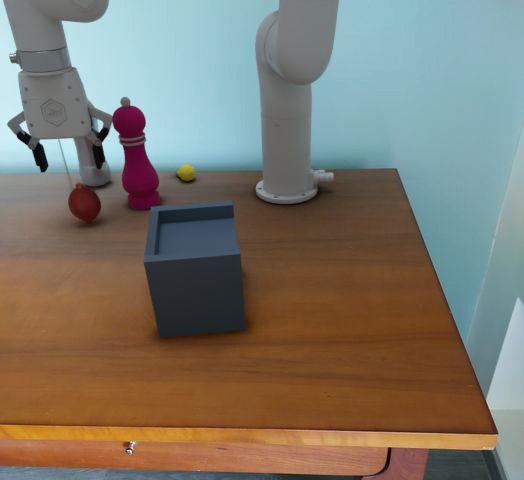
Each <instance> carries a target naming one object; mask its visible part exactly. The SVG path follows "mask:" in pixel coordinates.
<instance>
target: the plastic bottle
mask: <svg viewBox="0 0 524 480" xmlns="http://www.w3.org/2000/svg"><path fill="white" fill-rule="evenodd" d="M82 84H83V87H84V88H85V86H84V83H83V82H82ZM85 93H86V91H85ZM86 94H87V93H86ZM88 103H89V105H90V106H92V107H94V108H96V107H95V105H94V104H93V103H92V101H90V99H88ZM92 118H93V128H95V129H96V130H97V131H98V132H100V129H99V120H98V119H96V118H94V117H92ZM72 140H73V142H74V146H75V150H76V157H77V161H78V173H79V176H80V178H81V180H82V181H81V182H83V183H84V184H85V186H87V187H100V186H104V185H107V184H108V183H109V182H110V180H111V168H110V165H109V163H108V161H107V159H106V157H105V163H103V165H102V168H101V169H97V168H96V164H95V159H94V155H93V150H92V146H93V143H92V142H91V141H90V140H89V139H88V138H87V137H86V136H85V137H81V138H72Z"/></svg>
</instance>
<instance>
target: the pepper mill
mask: <svg viewBox="0 0 524 480" xmlns="http://www.w3.org/2000/svg"><path fill="white" fill-rule="evenodd" d="M119 104H120V105H121V106H118V108H116V109H115V110H114V111H113V113H112V116H113V121H112V126H113V129H114V130H115V131H116V132H117V133H118V135H117V138H118V143H119V145H121V146H122V149H123V154H124V164H123V169H122V172H121V186H122V189H123V190H124V191H125V192H126V193H127V194H128V195H127V202H128V206H129V207H130V208H132V209H134V210H148V209H151V207H154V206H159V204H160V203H161V199H160V192H159V191H158V190H157V189H158V188H159V186H160V178H159V174H158V172H157V170H156V168H155V166H154V165H153V164H152V163H151V160H150V159H149V156H148V154H147V151H146V144H145V143H146V142H147V138H146V132H145V131H144V130H145V128H146V124H147V120H146V116H145V114H144V113H143V111H142V109H140V108H139V107H137V106H135V105H131V99H130V98H129V97H128V96H123V97H121V99H120V103H119Z"/></svg>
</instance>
